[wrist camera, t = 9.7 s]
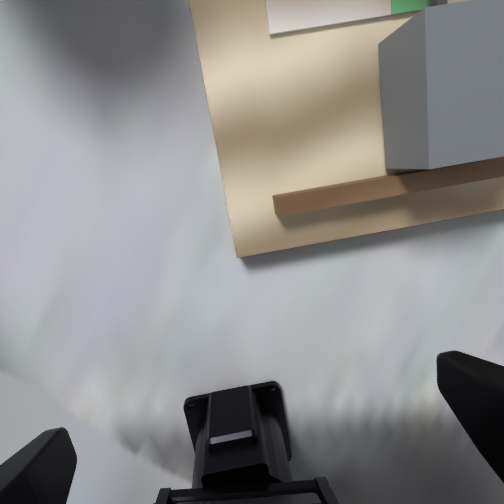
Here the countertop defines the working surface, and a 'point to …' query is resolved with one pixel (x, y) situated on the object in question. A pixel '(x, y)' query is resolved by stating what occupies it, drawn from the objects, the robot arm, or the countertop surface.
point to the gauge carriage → (444, 86)
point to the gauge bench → (317, 125)
